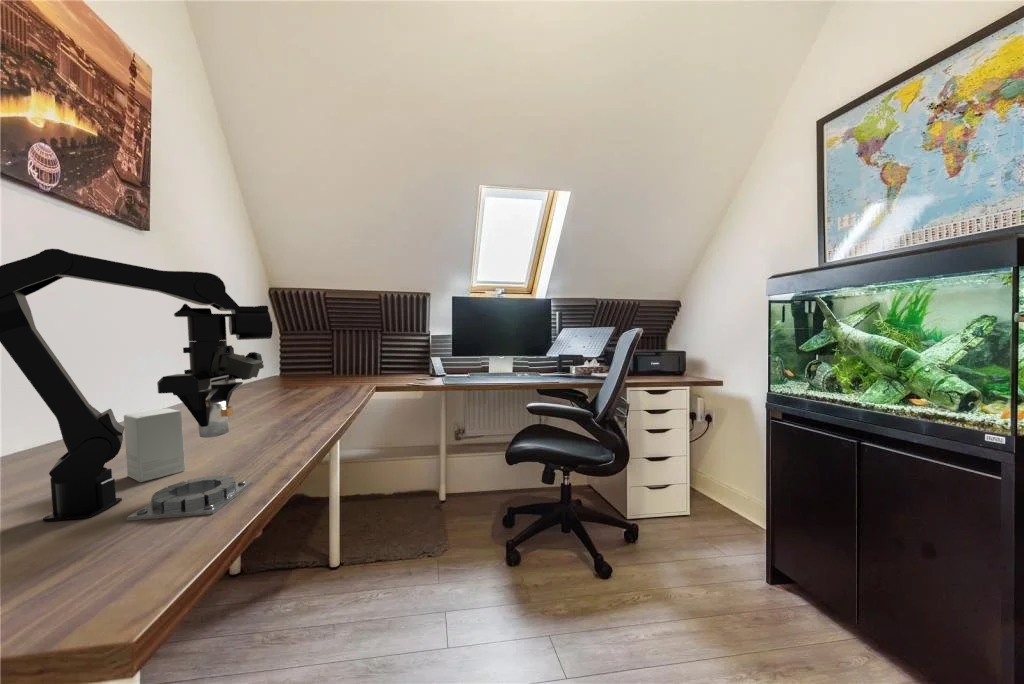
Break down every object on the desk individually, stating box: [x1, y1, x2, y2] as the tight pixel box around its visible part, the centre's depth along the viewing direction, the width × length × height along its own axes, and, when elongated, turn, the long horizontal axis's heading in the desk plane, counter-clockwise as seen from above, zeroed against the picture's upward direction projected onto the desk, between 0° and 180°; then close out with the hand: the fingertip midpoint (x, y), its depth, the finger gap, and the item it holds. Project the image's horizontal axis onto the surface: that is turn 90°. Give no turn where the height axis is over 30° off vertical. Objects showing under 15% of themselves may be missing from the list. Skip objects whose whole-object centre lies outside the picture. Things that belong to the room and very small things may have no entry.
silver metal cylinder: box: [197, 400, 234, 439], centre depth 76 cm, size 5×4×6 cm
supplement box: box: [123, 407, 186, 483], centre depth 81 cm, size 7×7×13 cm
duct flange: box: [126, 475, 253, 521], centre depth 68 cm, size 12×12×2 cm
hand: (212, 423), depth 76 cm, fingers closed on silver metal cylinder, 5 cm apart
